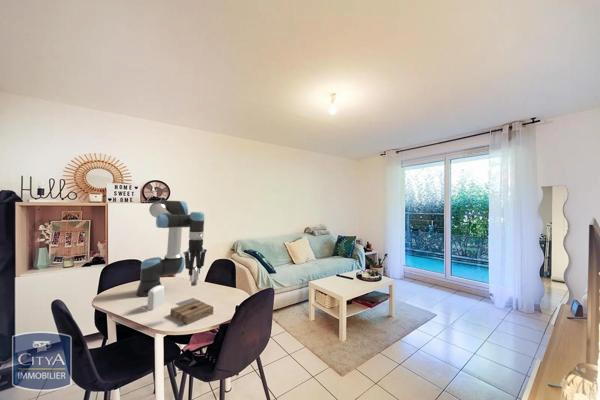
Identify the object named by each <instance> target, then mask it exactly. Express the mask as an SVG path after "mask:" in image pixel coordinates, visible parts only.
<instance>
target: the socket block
mask: <svg viewBox="0 0 600 400" xmlns="http://www.w3.org/2000/svg"><path fill="white" fill-rule="evenodd" d="M198 300H199V299H197V300H195V301H192V302H189V303H187V304H184V305H181V306H179V305H177V306H175V307H172V308H170V312H169V313H170V316H171V317H172V318H174V319H176V320H178V321H180V322H183V324H185V325H190V324H193V323H195V322H197V321H200V320H202V319H205V318H207V317H209V316H211V315H213V314H214V306H213V305H210V304H208V303H205V302H204V301H202V302H200V301H201V300H199V301H198ZM203 302H204V303H203Z"/></svg>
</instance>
